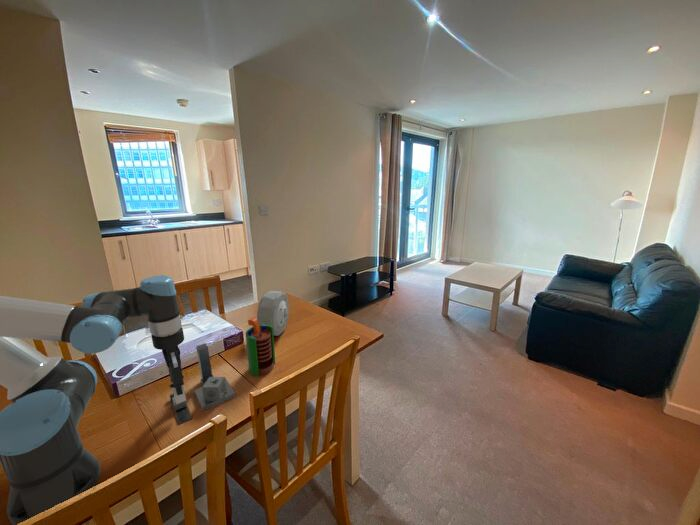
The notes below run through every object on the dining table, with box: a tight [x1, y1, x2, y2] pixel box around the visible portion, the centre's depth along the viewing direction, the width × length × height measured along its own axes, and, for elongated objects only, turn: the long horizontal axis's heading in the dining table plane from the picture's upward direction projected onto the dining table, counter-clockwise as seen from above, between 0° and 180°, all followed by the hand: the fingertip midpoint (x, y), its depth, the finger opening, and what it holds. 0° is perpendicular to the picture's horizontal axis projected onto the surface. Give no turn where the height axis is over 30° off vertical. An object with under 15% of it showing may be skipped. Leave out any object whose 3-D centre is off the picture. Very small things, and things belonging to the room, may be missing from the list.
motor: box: [245, 317, 276, 378], centre depth 109 cm, size 10×9×20 cm
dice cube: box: [201, 376, 226, 401], centre depth 95 cm, size 5×5×5 cm
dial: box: [256, 290, 290, 337], centre depth 135 cm, size 20×12×20 cm, turn 171°
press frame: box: [169, 342, 236, 425], centre depth 95 cm, size 17×16×14 cm
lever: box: [168, 376, 187, 410], centre depth 91 cm, size 3×4×11 cm
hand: (180, 401), depth 88 cm, fingers closed
